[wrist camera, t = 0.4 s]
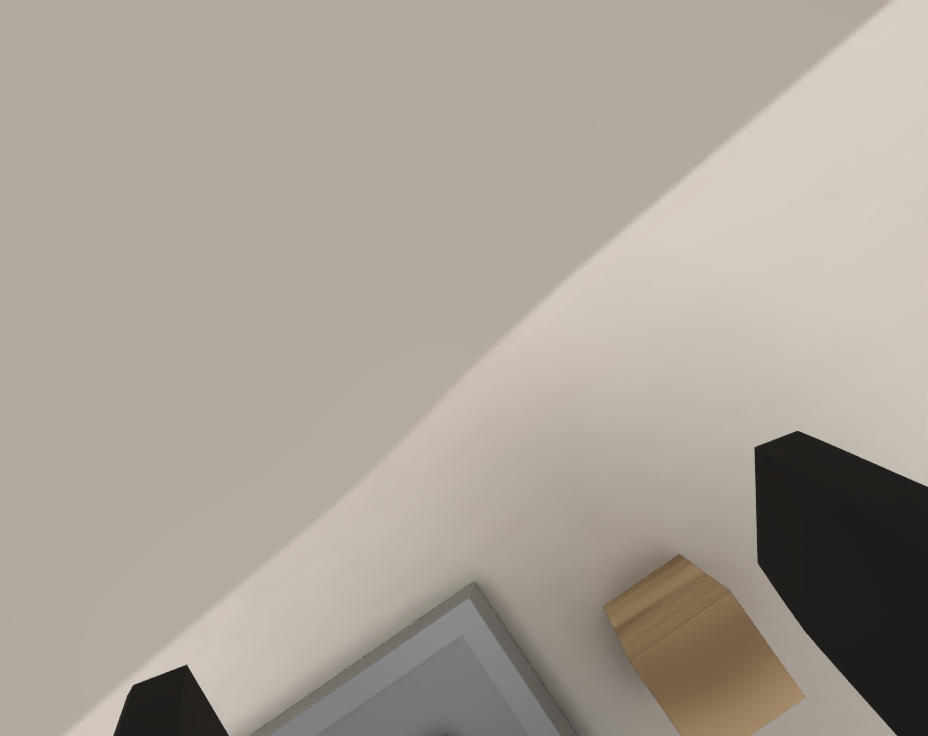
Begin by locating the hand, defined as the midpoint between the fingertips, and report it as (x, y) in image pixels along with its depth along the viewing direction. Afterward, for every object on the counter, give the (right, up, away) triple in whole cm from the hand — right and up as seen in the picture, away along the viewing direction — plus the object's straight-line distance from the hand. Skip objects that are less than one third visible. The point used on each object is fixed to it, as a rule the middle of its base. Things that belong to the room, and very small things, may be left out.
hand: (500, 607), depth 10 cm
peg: (+8, -8, +26) cm, 29 cm away
